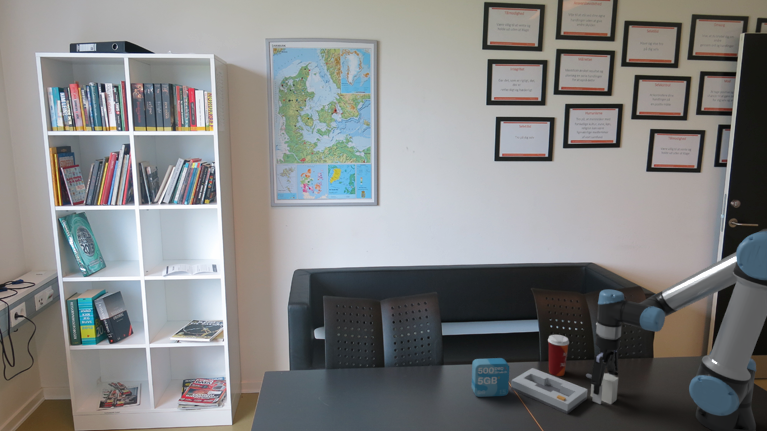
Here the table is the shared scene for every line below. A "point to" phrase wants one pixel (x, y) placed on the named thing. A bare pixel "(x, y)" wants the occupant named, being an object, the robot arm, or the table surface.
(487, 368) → the data package
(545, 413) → the table surface
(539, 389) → the socket
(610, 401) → the plug
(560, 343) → the paper cup
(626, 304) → the robot arm
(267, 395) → the table surface
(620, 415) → the table surface
